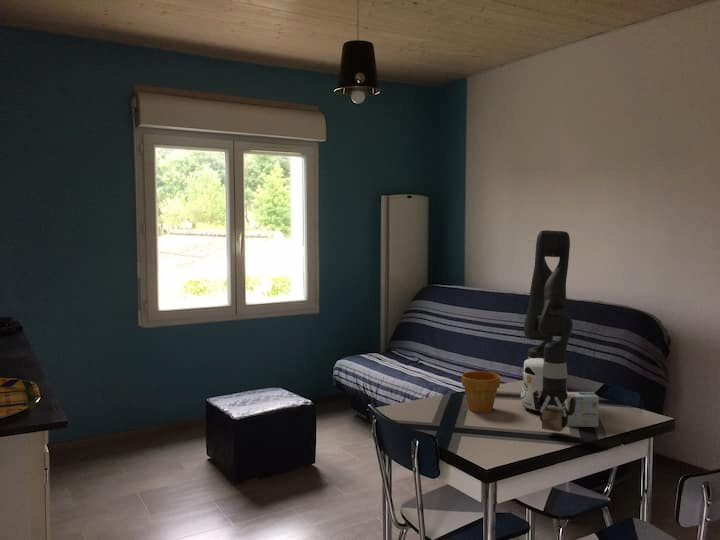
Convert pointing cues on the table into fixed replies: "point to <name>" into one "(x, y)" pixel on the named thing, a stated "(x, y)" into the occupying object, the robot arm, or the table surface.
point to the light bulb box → (583, 409)
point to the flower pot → (480, 390)
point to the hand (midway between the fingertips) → (554, 424)
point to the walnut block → (552, 419)
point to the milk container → (532, 382)
